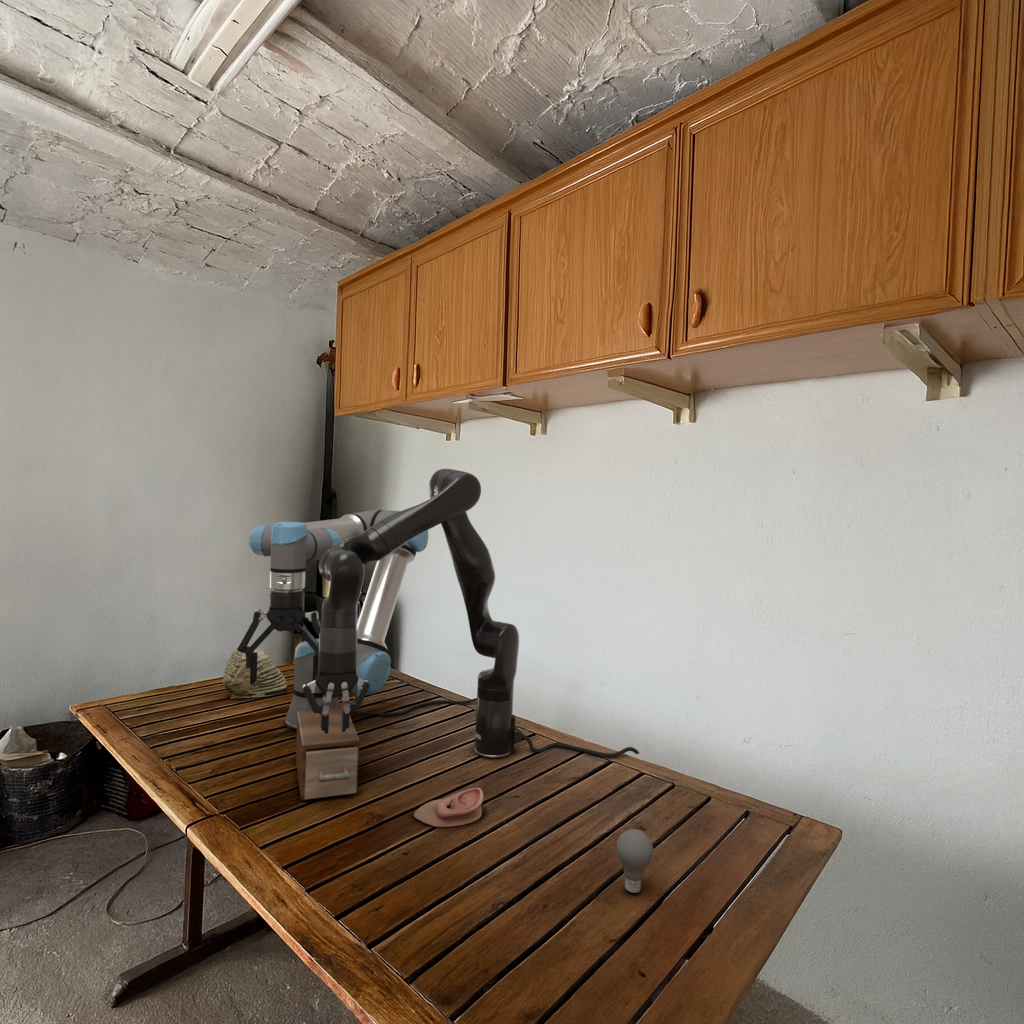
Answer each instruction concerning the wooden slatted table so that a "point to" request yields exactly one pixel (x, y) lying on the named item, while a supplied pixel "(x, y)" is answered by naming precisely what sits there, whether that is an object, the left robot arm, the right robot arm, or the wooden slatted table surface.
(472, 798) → the anatomical model
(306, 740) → the cabinet
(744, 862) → the wooden slatted table surface
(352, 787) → the drawer
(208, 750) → the wooden slatted table surface
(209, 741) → the wooden slatted table surface
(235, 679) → the fossil
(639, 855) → the light bulb
